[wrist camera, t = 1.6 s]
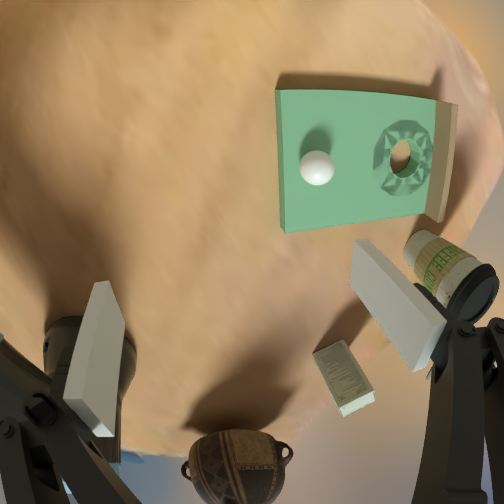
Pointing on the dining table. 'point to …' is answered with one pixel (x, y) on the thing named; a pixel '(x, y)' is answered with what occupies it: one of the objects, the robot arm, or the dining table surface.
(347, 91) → the putting platform
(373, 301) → the robot arm
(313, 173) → the ball
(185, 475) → the vase
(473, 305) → the coffee cup
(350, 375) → the skincare box
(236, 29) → the dining table surface
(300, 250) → the dining table surface
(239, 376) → the dining table surface
